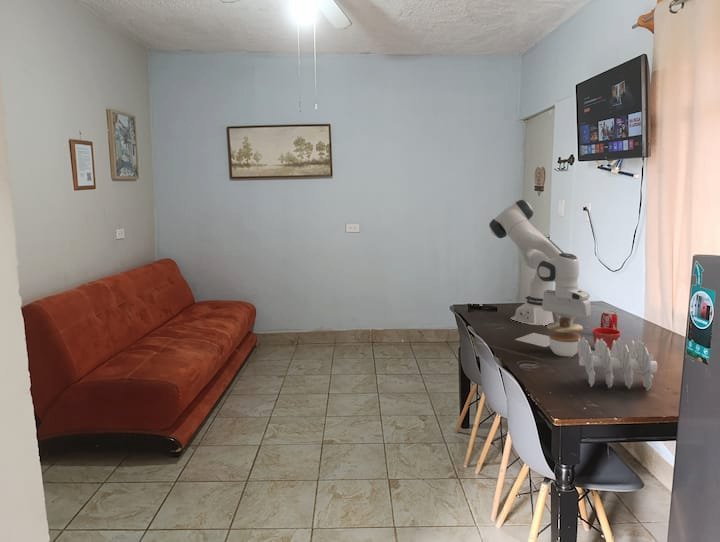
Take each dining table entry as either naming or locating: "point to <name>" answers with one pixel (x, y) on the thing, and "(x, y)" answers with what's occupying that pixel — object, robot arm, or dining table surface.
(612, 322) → the soda can
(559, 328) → the lid
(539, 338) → the mat
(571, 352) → the lidded bowl
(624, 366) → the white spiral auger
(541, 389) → the dining table surface
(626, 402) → the dining table surface
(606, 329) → the flower pot
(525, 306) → the robot arm
